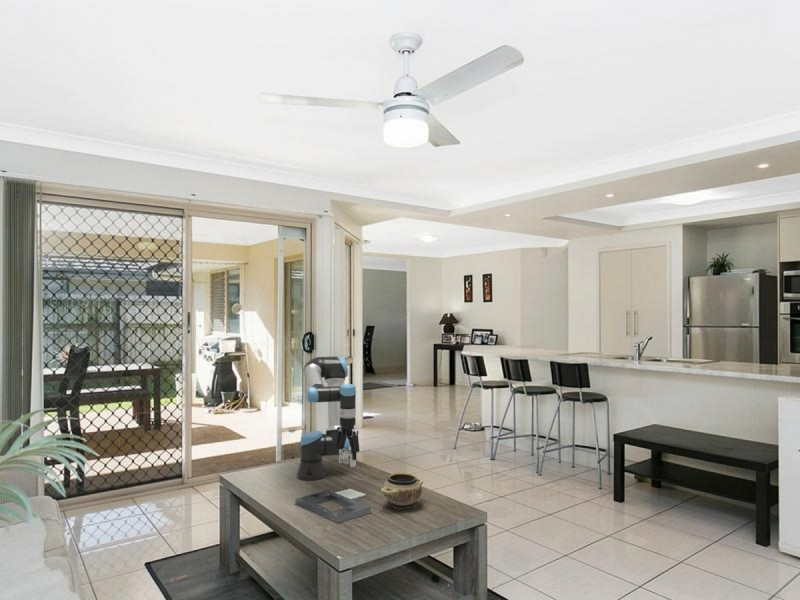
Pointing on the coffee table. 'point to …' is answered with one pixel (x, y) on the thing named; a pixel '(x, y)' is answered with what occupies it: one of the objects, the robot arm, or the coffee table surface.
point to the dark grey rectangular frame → (337, 516)
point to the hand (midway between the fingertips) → (347, 464)
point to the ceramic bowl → (402, 489)
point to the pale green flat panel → (351, 494)
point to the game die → (345, 456)
